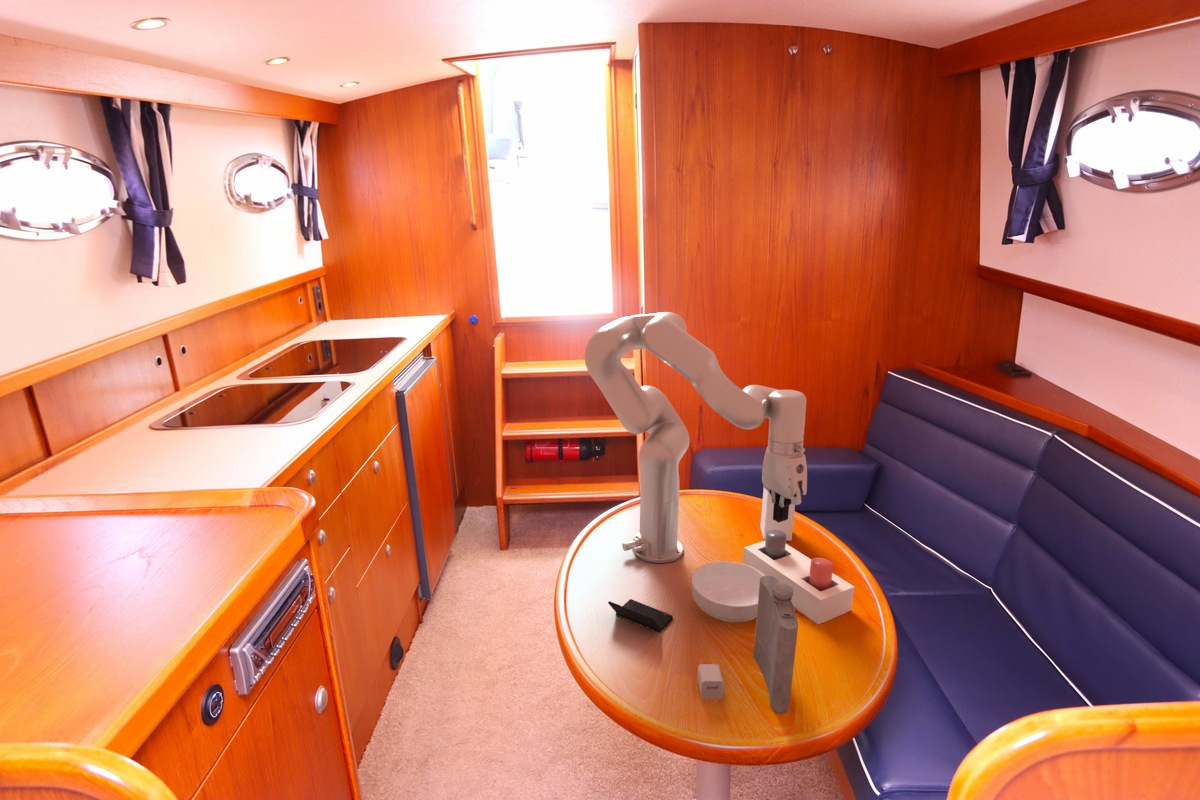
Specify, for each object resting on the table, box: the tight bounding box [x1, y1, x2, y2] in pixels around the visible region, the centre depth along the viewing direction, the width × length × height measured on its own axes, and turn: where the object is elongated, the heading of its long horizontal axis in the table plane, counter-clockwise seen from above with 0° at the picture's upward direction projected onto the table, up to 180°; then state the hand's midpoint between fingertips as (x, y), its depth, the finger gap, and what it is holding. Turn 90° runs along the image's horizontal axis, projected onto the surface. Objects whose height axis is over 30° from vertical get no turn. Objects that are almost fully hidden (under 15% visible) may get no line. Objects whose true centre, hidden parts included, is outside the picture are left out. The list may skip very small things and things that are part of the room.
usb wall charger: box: [696, 661, 725, 700], centre depth 121 cm, size 4×7×4 cm, turn 0°
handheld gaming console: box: [607, 598, 674, 634], centre depth 139 cm, size 12×7×10 cm
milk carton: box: [759, 487, 796, 542], centre depth 171 cm, size 7×7×19 cm
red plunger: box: [808, 557, 834, 591], centre depth 142 cm, size 5×5×6 cm
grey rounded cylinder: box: [764, 530, 787, 560], centre depth 154 cm, size 5×5×6 cm
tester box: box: [742, 540, 855, 625], centre depth 150 cm, size 10×24×6 cm, turn 29°
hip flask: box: [752, 576, 799, 715], centre depth 119 cm, size 16×4×20 cm, turn 1°
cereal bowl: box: [690, 560, 765, 623], centre depth 142 cm, size 17×17×7 cm
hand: (780, 519), depth 152 cm, fingers closed
